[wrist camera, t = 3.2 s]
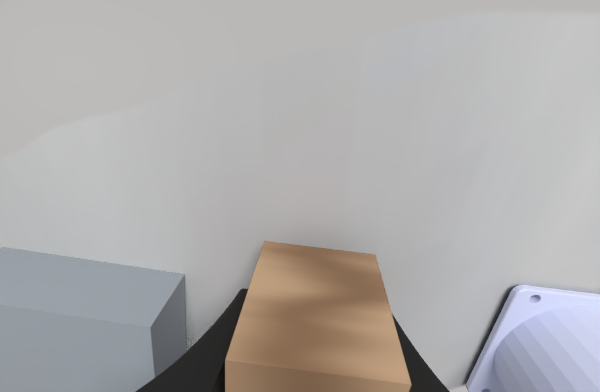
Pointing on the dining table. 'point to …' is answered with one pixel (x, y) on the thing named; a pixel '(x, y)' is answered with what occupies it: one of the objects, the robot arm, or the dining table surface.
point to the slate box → (86, 323)
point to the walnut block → (315, 326)
